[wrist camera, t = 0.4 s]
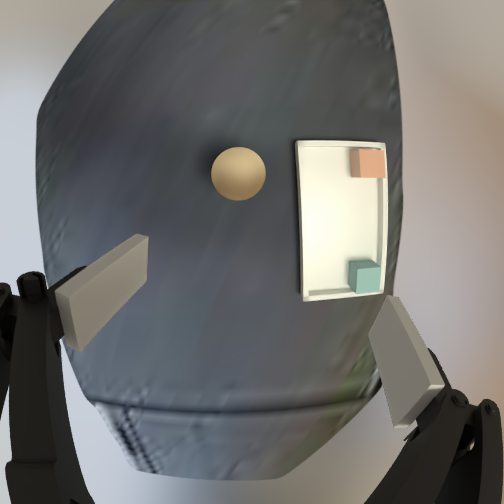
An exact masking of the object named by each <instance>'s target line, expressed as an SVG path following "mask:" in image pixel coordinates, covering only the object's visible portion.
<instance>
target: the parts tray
mask: <svg viewBox="0 0 504 504" xmlns="http://www.w3.org/2000/svg"><path fill="white" fill-rule="evenodd" d="M358 149H366V150H384V155H385V174H386V178H351V161H350V152H351V151H354V150H358ZM295 154H296V170H297V187H298V207H299V233H300V278H301V296H302V299H303V301H314V300H325V299H335V298H345V297H355V296H364V295H372V294H381V293H383V290H384V280H385V268H386V252H387V228H388V186H387V162H386V147H385V143H377V142H360V141H319V140H313V141H297V142H296V143H295ZM361 260H373V261H374V262H375V263H377V264H378V265H379V266H381V279H380V290H379V292H372V293H363V294H355V292H354V291H353V290H352V289H351V288H350V286H349V285H348V279H349V261H361Z"/></svg>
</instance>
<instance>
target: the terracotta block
mask: <svg viewBox="0 0 504 504" xmlns="http://www.w3.org/2000/svg"><path fill="white" fill-rule="evenodd" d="M350 161H351V178H386V174H385V155H384V150H366V149H358V150H354V151H351V152H350Z"/></svg>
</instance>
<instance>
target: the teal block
mask: <svg viewBox="0 0 504 504" xmlns="http://www.w3.org/2000/svg"><path fill="white" fill-rule="evenodd" d="M380 279H381V266H379V265H378V264H377V263H375V262H374V261H373V260H361V261H349V279H348V285H349V286H350V288H351V289H352V290H353V291H354V292H355V294H363V293H372V292H379V290H380Z"/></svg>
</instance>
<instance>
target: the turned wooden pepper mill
mask: <svg viewBox="0 0 504 504" xmlns="http://www.w3.org/2000/svg"><path fill="white" fill-rule="evenodd" d="M265 176H266V171H265V166H264V163H263V161H262V160H261V158H260V157H259V156H258V155H257V154H256V153H255V152H254V151H252V150H250V149H247V148H243V147H234V148H230V149H227V150H225V151H224V152H222V153H221V154H220V155H219V156H218V157H217V158H216V160H215V161H214V164H213V166H212V171H211V177H212V182H213V184H214V187H215V188H216V190H217V191H218V192H219V193H220V194H221V195H223V196H224V197H226V198H228V199H231V200H245V199H248V198H251V197H252V196H254V195H255V194H257V193H258V192H259V190H260V189H261V188H262V186H263V184H264V181H265Z"/></svg>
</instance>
